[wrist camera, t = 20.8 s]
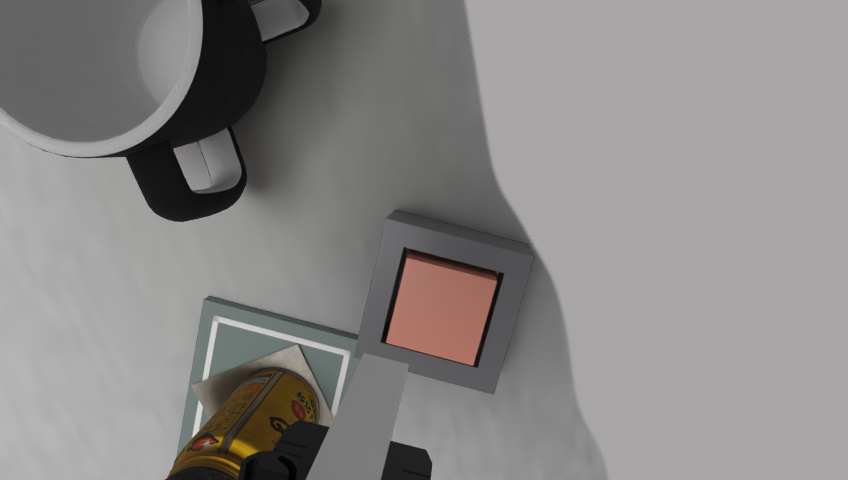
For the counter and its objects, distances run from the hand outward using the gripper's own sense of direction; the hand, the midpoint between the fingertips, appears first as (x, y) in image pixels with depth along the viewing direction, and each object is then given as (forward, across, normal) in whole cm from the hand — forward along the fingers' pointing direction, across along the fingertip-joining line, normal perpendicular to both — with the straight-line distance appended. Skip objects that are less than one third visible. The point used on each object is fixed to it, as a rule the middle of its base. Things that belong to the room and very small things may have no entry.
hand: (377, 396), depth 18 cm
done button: (+18, +2, -2) cm, 18 cm away
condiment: (+19, -8, -13) cm, 24 cm away
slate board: (+19, -8, -13) cm, 25 cm away
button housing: (+19, +2, -2) cm, 20 cm away
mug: (+20, -17, +9) cm, 28 cm away
